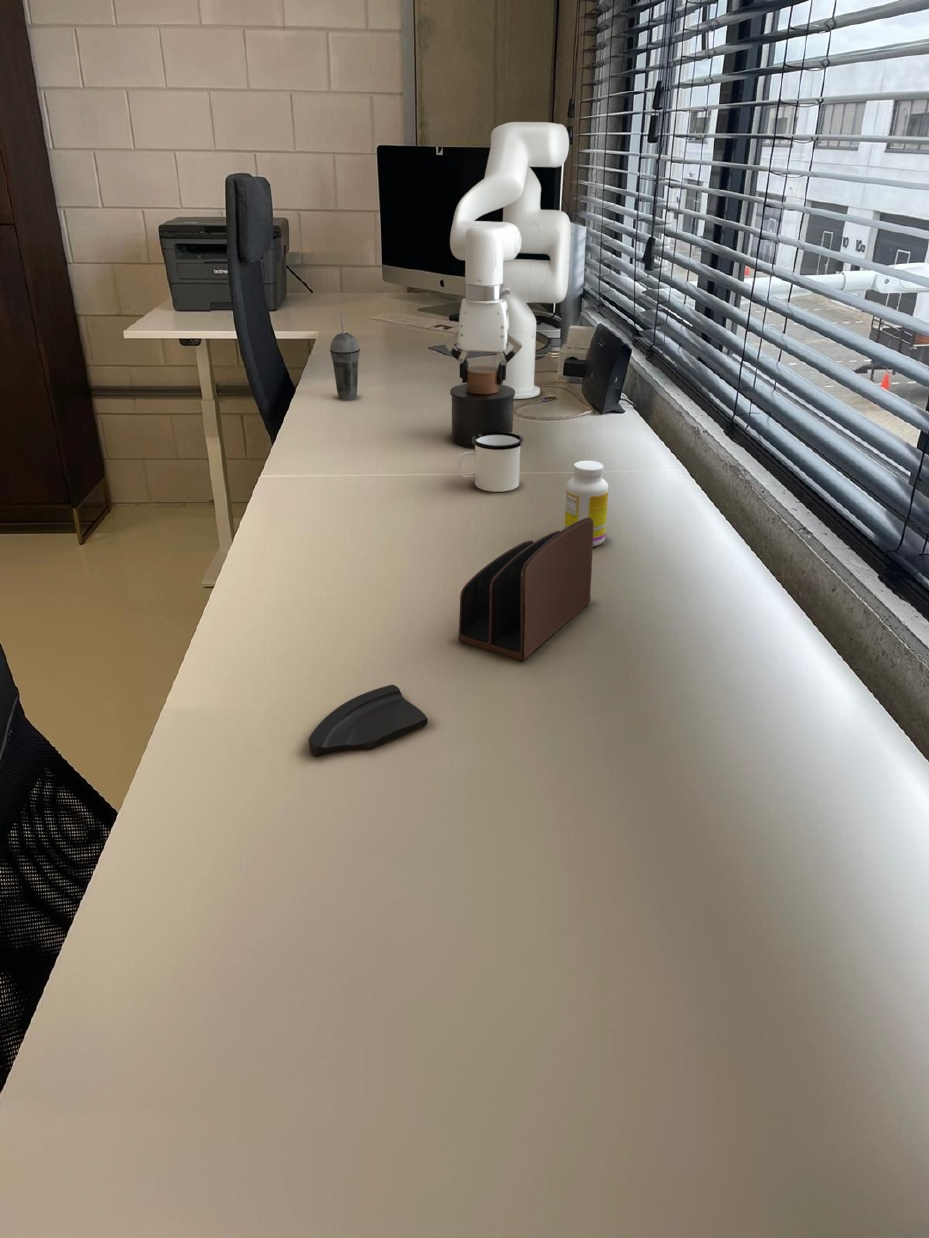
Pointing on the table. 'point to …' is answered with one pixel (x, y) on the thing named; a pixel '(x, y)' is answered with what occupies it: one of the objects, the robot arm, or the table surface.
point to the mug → (495, 461)
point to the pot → (480, 413)
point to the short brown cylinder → (482, 379)
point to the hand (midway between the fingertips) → (482, 381)
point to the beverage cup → (345, 364)
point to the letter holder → (528, 592)
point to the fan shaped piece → (366, 722)
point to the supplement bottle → (588, 498)
